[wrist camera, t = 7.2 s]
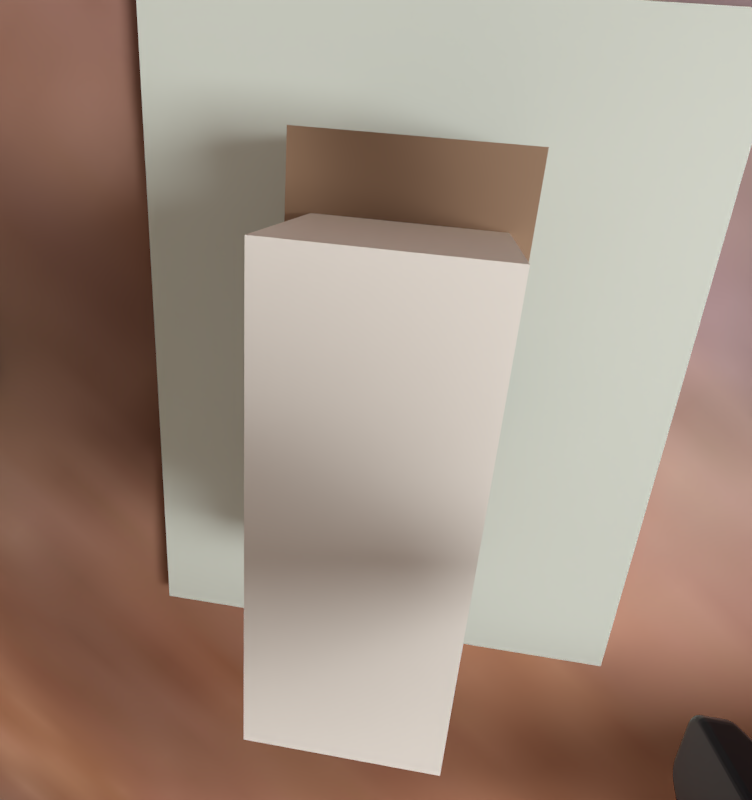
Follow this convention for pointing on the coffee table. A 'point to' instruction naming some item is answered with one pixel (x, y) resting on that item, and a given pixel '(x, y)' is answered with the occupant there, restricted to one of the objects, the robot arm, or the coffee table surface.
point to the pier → (415, 180)
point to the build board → (549, 258)
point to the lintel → (368, 474)
